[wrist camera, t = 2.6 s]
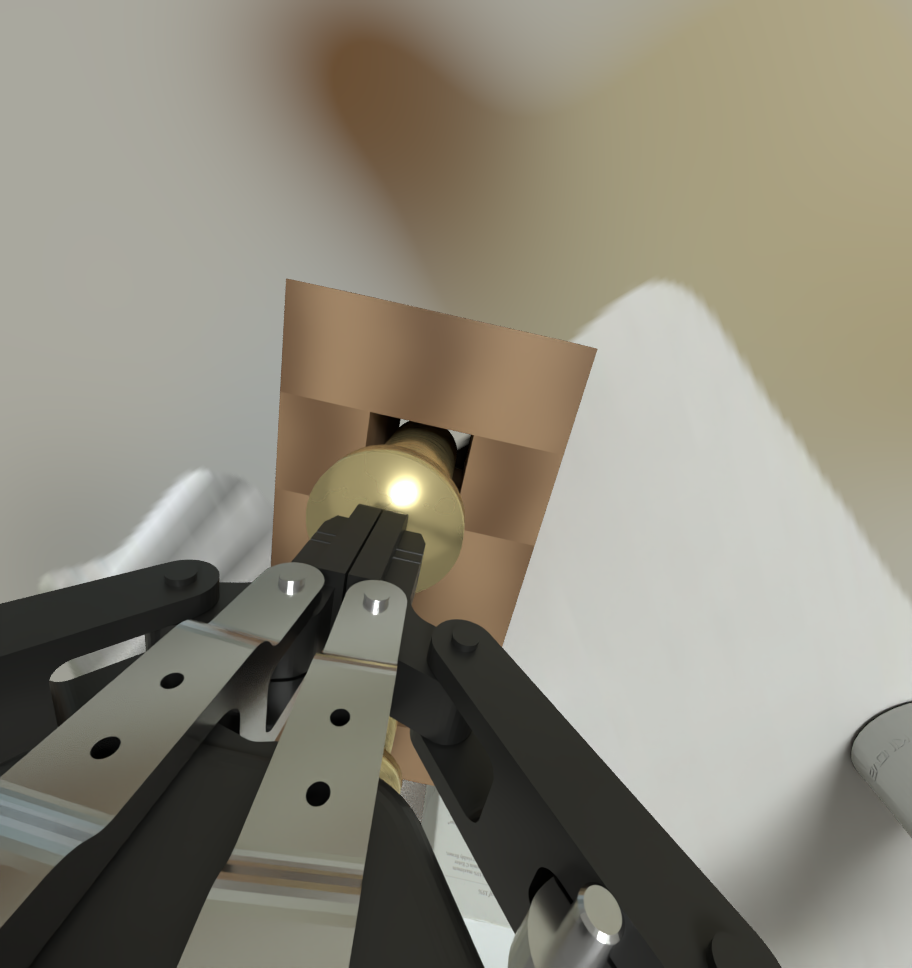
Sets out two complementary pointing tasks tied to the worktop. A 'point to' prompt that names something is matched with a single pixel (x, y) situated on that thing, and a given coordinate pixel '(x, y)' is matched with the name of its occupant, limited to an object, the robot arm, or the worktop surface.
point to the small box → (467, 884)
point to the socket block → (437, 402)
